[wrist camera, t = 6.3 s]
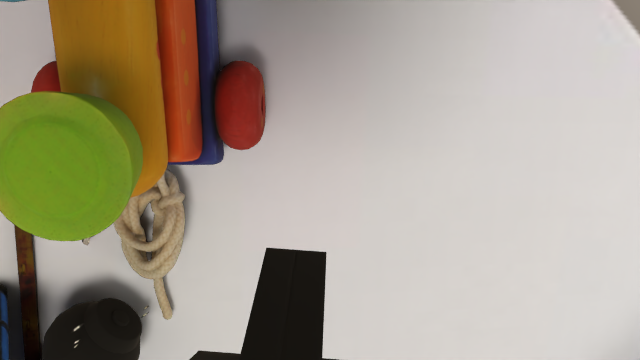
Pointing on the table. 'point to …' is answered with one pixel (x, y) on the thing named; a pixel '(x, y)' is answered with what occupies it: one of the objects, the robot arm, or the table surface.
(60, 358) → the black plush figure
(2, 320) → the game console
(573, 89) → the table surface
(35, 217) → the toy train
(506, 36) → the table surface
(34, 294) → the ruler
